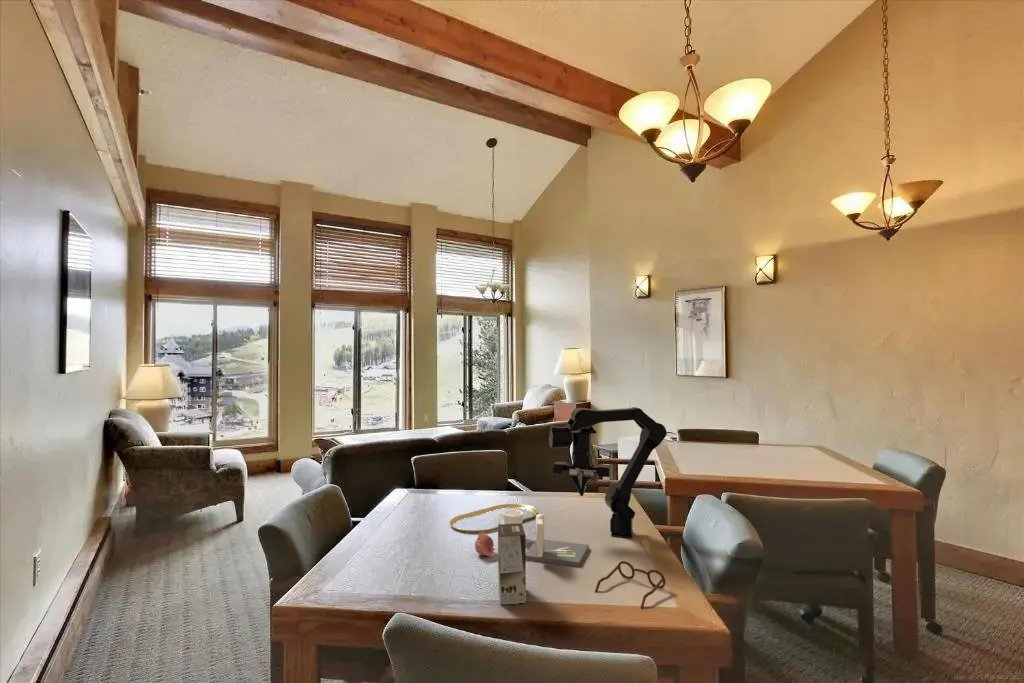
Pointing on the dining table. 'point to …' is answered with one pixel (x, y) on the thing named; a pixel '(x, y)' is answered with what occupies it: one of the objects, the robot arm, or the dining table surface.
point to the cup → (511, 517)
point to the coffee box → (511, 563)
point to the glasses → (633, 576)
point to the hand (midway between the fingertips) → (581, 495)
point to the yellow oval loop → (488, 511)
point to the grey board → (559, 553)
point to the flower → (484, 545)
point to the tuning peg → (542, 537)
